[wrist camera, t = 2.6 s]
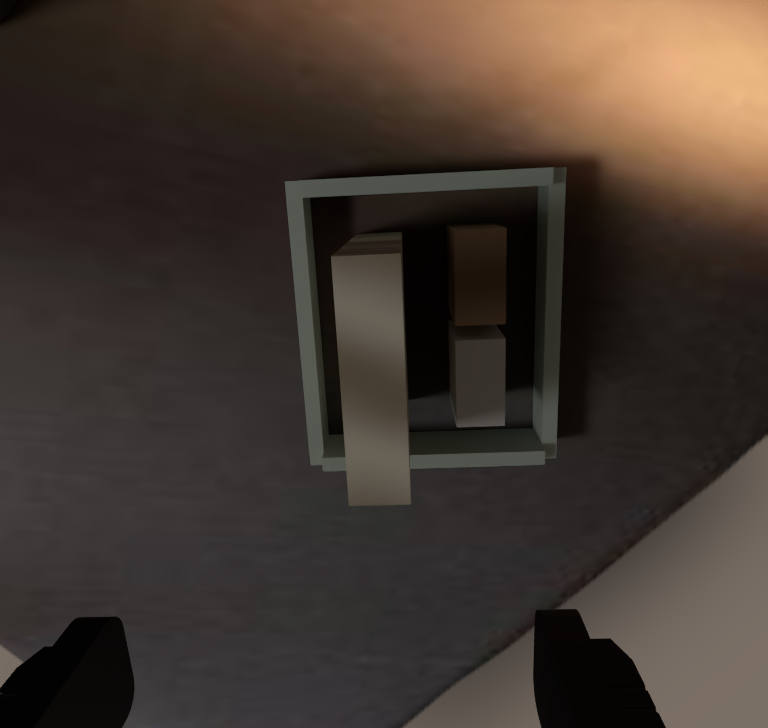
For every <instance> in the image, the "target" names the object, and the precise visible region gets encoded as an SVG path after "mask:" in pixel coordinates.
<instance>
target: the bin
mask: <svg viewBox="0 0 768 728" xmlns="http://www.w3.org/2000/svg"><path fill="white" fill-rule="evenodd" d="M528 186H538V212H537V256H536V300H535V343H534V387H533V428H522V429H491V430H460V431H430V432H409V447H410V469H419V468H453V467H486V466H520V465H545V458H556V447H557V419H558V390H559V362H560V334H561V305H562V277H563V249H564V220H565V192H566V167H558V168H554V167H548V168H529V169H509V170H490V171H471V172H452V173H432V174H413V175H394V176H375V177H355V178H336V179H317V180H298V181H288V182H285V189H286V200H287V211H288V222H289V233H290V244H291V255H292V266H293V277H294V288H295V299H296V310H297V321H298V332H299V343H300V354H301V365H302V376H303V387H304V398H305V409H306V420H307V431H308V442H309V453H310V464H311V465H322V466H323V471H346V457H345V443H344V434H338V435H329V429H328V417H327V404H326V392H325V379H324V367H323V354H322V342H321V329H320V317H319V304H318V292H317V279H316V267H315V254H314V242H313V229H312V217H311V204H310V197H330V196H350V195H369V194H389V193H409V192H429V191H449V190H468V189H488V188H508V187H528Z"/></svg>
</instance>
